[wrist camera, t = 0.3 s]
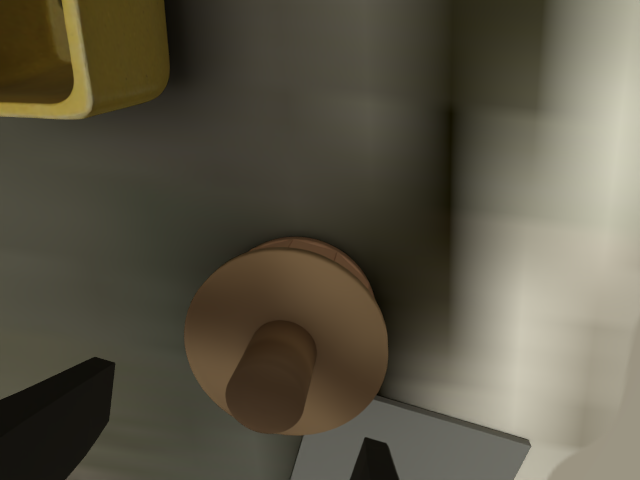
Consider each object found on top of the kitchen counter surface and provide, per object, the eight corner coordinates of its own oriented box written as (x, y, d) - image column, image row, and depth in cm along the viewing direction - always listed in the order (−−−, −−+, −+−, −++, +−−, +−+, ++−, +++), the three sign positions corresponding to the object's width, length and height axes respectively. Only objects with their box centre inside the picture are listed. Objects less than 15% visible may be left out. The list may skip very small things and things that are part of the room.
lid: (356, 446, 20) (351, 524, 16) (178, 393, 20) (134, 457, 17) (415, 280, 17) (425, 329, 14) (207, 222, 18) (162, 254, 14)
